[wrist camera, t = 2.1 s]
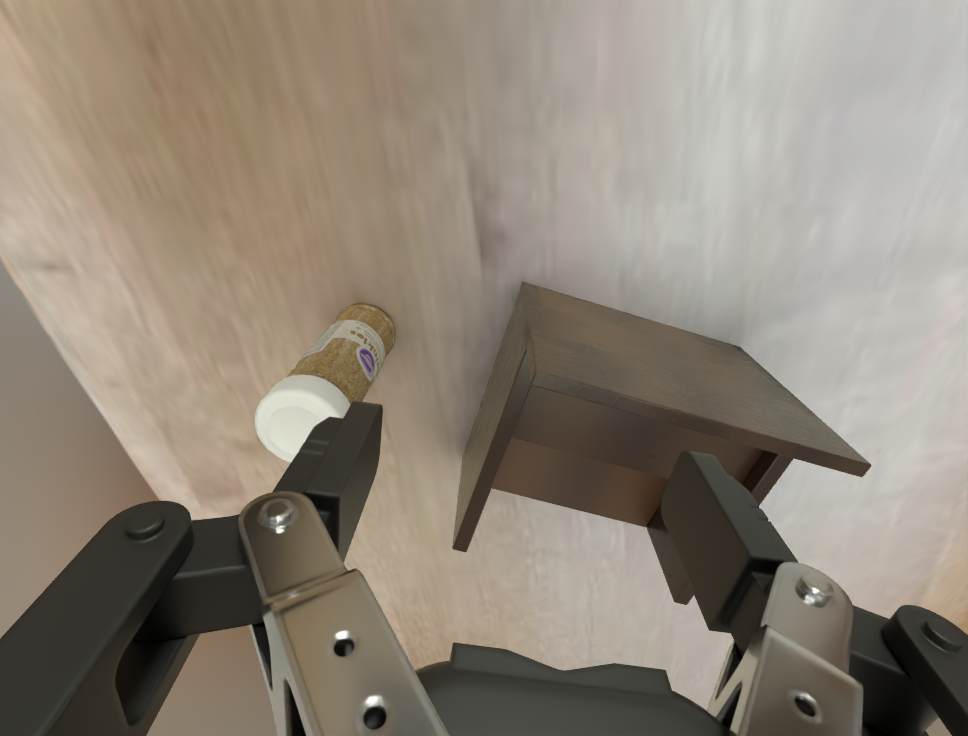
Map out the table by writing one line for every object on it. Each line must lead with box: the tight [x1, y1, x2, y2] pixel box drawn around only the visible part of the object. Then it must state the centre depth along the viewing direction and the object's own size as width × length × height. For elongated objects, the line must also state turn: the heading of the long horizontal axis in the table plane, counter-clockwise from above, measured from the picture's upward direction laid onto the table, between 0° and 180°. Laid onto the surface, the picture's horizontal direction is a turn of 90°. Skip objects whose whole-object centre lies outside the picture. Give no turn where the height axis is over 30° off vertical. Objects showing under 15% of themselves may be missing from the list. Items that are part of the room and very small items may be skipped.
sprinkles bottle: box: [254, 304, 395, 463], centre depth 30 cm, size 5×5×13 cm
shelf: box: [452, 282, 871, 605], centre depth 32 cm, size 17×16×14 cm
